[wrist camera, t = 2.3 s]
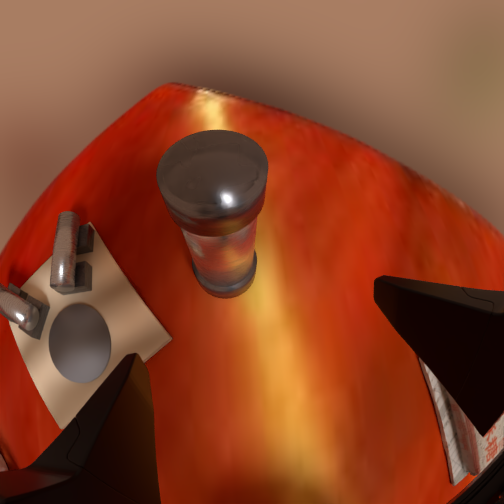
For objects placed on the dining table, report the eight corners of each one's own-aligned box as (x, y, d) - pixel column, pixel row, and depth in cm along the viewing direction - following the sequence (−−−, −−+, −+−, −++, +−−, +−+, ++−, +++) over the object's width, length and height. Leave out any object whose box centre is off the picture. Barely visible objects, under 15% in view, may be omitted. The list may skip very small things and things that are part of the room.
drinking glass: (260, 248, 25) (274, 136, 13) (249, 303, 22) (258, 220, 11) (204, 238, 25) (178, 126, 13) (189, 291, 23) (139, 202, 11)
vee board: (172, 338, 21) (169, 336, 20) (65, 428, 16) (59, 429, 15) (93, 225, 25) (88, 220, 24) (8, 308, 20) (2, 305, 19)
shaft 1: (52, 308, 20) (28, 296, 17) (41, 341, 19) (17, 333, 15) (16, 286, 21) (-5, 273, 17) (6, 315, 19) (-16, 304, 16)
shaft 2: (91, 293, 21) (70, 279, 18) (62, 298, 21) (40, 285, 17) (95, 228, 24) (78, 207, 21) (67, 234, 24) (49, 216, 20)
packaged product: (524, 432, 11) (474, 492, 9) (498, 432, 16) (448, 484, 14) (497, 302, 18) (444, 351, 17) (469, 314, 23) (414, 357, 21)
